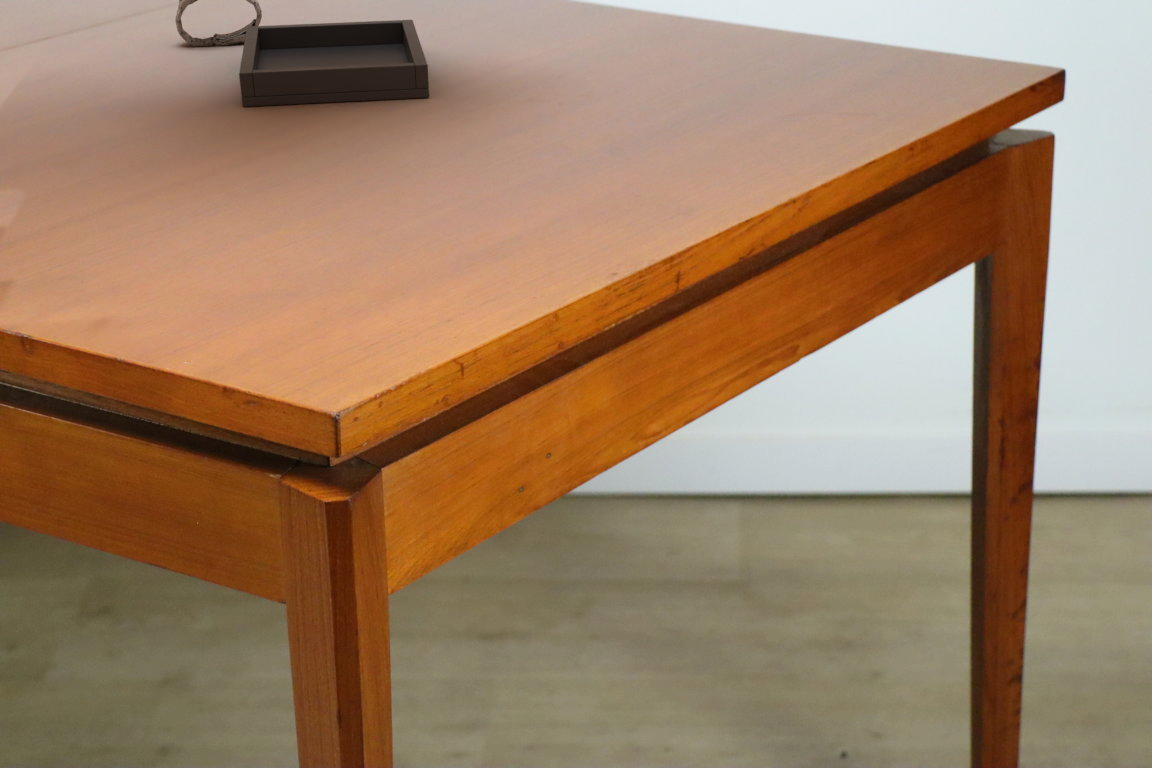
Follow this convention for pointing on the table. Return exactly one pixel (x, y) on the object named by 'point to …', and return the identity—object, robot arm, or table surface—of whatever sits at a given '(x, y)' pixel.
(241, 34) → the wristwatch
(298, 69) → the dark rectangular tray
